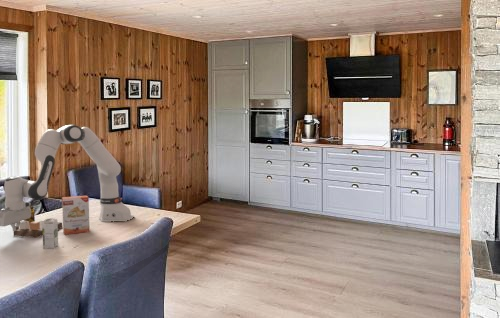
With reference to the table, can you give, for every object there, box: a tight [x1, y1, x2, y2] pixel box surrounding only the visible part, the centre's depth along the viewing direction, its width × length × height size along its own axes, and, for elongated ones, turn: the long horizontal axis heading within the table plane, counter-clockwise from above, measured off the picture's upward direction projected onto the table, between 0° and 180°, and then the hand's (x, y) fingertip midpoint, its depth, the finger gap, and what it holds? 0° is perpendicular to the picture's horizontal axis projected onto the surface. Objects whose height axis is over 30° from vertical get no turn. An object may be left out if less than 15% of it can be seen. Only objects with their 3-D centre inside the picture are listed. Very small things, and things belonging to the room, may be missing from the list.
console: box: [13, 220, 63, 239], centre depth 256 cm, size 15×22×3 cm
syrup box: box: [42, 218, 59, 250], centre depth 227 cm, size 6×6×14 cm
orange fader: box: [30, 221, 40, 230], centre depth 248 cm, size 4×3×4 cm
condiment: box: [23, 205, 36, 225], centre depth 267 cm, size 7×8×12 cm
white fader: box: [19, 220, 30, 229], centre depth 249 cm, size 4×3×4 cm
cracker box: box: [61, 195, 91, 235], centre depth 253 cm, size 14×6×21 cm, turn 117°
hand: (16, 230), depth 243 cm, fingers closed
